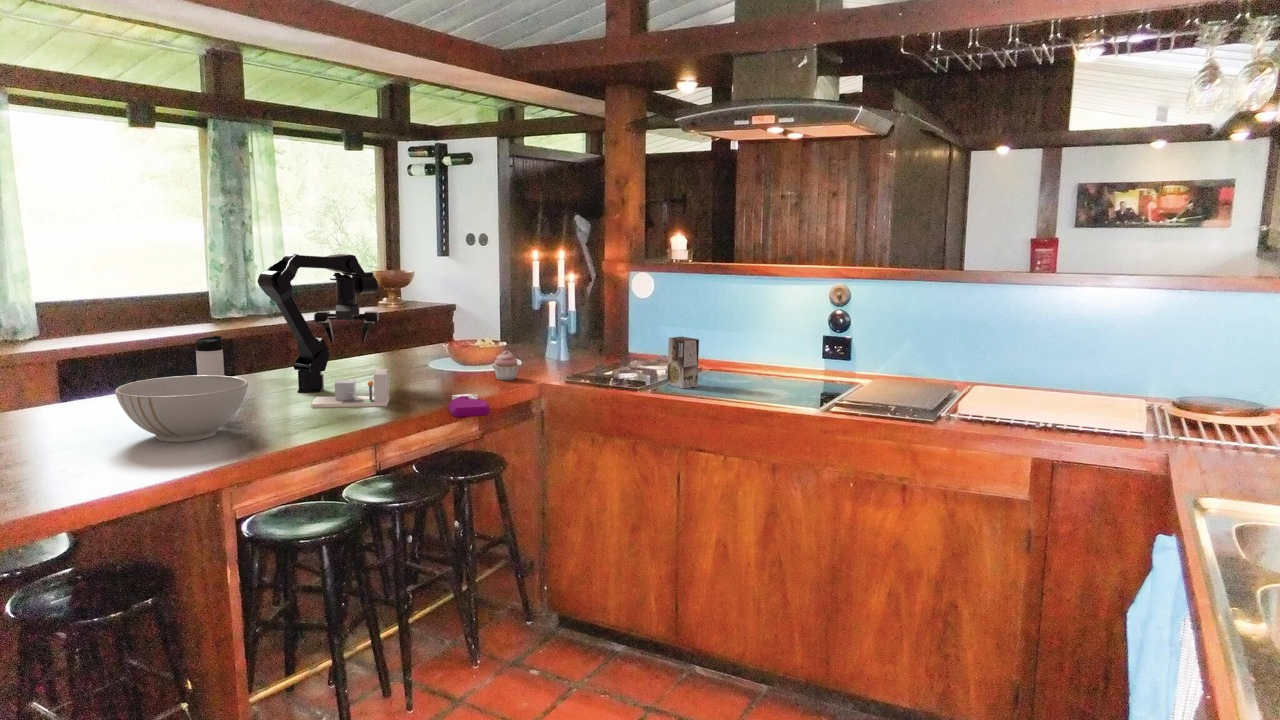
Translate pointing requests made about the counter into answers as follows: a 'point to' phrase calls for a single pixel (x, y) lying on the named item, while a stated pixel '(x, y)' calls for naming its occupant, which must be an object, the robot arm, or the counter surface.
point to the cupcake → (506, 366)
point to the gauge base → (360, 401)
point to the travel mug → (209, 356)
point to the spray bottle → (468, 406)
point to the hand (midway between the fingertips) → (347, 343)
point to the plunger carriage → (345, 389)
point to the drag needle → (370, 389)
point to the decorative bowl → (182, 405)
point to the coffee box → (683, 362)
